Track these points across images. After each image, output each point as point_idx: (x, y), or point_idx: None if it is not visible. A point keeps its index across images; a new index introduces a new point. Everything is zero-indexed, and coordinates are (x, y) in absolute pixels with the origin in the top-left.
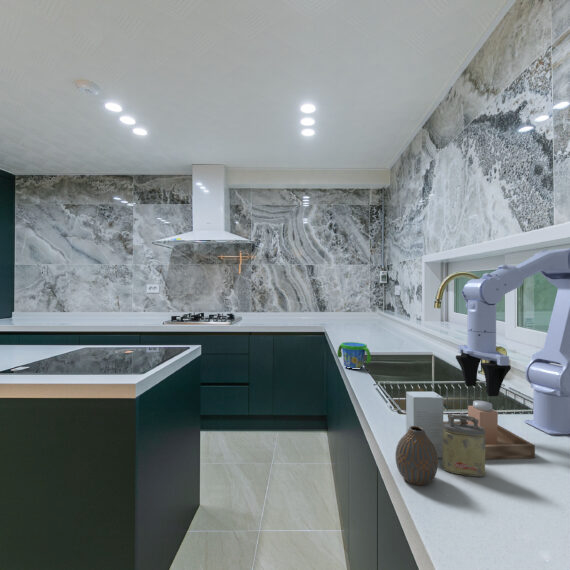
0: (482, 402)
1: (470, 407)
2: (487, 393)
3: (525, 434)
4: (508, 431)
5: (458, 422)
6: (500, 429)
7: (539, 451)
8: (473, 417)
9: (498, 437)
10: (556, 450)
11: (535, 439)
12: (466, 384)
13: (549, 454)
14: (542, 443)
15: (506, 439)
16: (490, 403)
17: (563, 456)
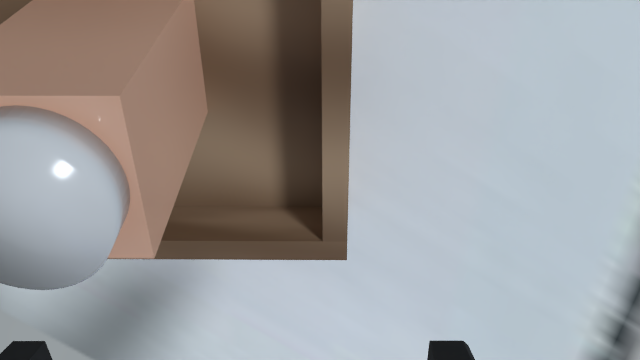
0: (44, 232)
1: (78, 94)
2: (22, 354)
3: (296, 344)
4: (161, 252)
5: (324, 13)
6: (213, 235)
7: (89, 279)
8: (56, 57)
9: (209, 189)
10: (115, 346)
11: (235, 346)
12: (447, 352)
13: (62, 297)
14: (189, 344)
15: None
16: (25, 283)
17: (52, 332)
